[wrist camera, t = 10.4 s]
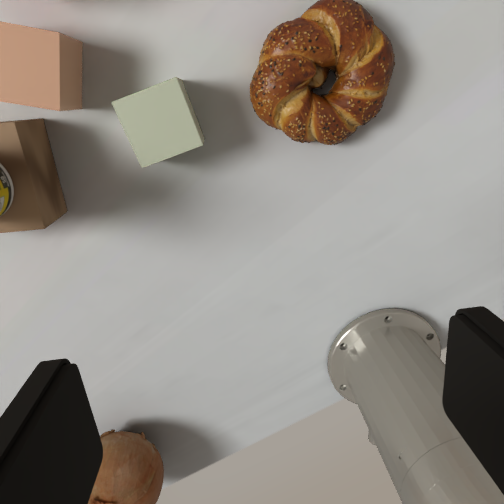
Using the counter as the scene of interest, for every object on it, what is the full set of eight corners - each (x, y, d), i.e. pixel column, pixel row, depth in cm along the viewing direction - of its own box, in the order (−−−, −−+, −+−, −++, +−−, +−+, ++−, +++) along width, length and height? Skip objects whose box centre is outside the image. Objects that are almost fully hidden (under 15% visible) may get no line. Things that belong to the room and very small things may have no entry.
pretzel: (265, 162, 36) (271, 169, 32) (230, 30, 32) (232, 22, 28) (393, 123, 35) (412, 126, 32) (375, -15, 31) (394, -29, 28)
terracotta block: (82, 109, 33) (59, 110, 28) (18, 98, 32) (-16, 98, 27) (82, 42, 31) (59, 32, 26) (15, 29, 30) (-22, 17, 26)
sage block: (204, 138, 34) (202, 145, 30) (151, 158, 35) (141, 168, 30) (181, 80, 32) (176, 77, 28) (126, 101, 33) (111, 102, 28)
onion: (68, 433, 45) (29, 521, 36) (136, 396, 44) (114, 477, 34) (120, 481, 48) (96, 573, 39) (184, 448, 47) (176, 535, 38)
